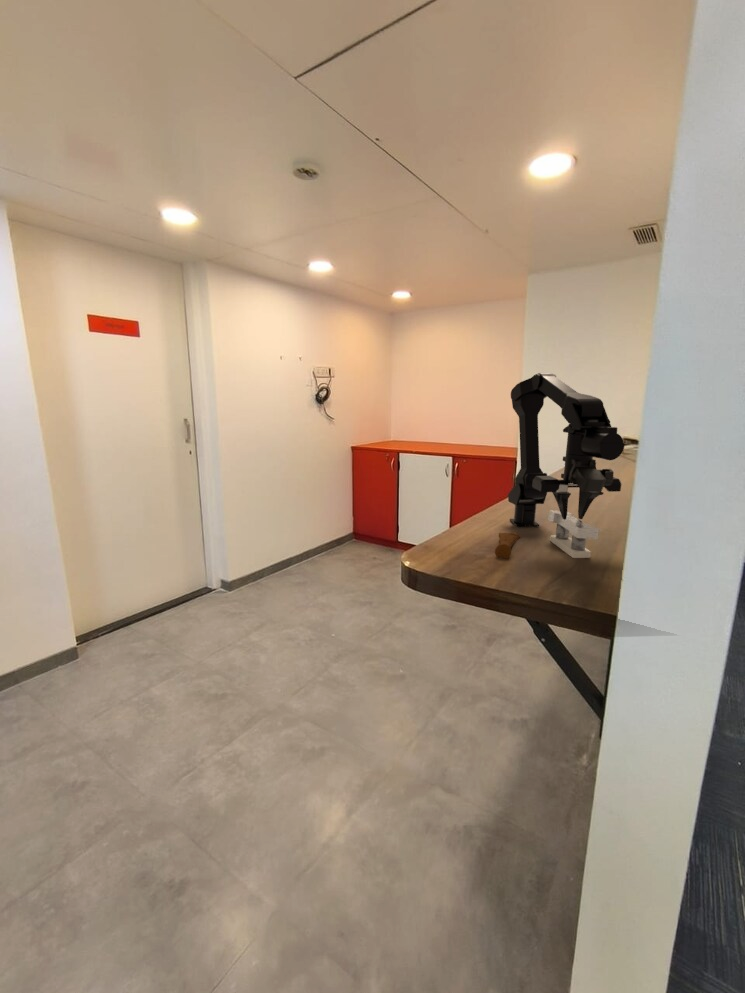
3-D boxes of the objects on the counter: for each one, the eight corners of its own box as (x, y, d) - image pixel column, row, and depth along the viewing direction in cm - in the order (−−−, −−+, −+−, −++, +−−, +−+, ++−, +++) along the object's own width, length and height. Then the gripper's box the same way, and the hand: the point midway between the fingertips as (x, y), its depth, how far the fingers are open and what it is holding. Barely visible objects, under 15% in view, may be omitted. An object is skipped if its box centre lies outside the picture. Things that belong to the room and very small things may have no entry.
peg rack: (550, 540, 113) (552, 522, 112) (565, 540, 113) (567, 521, 112) (573, 558, 101) (575, 537, 100) (590, 557, 101) (592, 536, 100)
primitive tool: (498, 534, 120) (499, 521, 119) (520, 536, 118) (521, 523, 117) (493, 559, 102) (495, 544, 101) (518, 562, 100) (520, 547, 99)
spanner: (576, 537, 99) (578, 527, 98) (547, 519, 113) (549, 510, 113) (597, 539, 99) (599, 529, 98) (566, 520, 114) (567, 511, 113)
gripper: (555, 459, 94) (548, 529, 97) (641, 458, 94) (631, 528, 98) (534, 452, 104) (528, 515, 108) (611, 451, 105) (603, 515, 109)
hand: (572, 519), depth 106 cm, fingers open, 4 cm apart
